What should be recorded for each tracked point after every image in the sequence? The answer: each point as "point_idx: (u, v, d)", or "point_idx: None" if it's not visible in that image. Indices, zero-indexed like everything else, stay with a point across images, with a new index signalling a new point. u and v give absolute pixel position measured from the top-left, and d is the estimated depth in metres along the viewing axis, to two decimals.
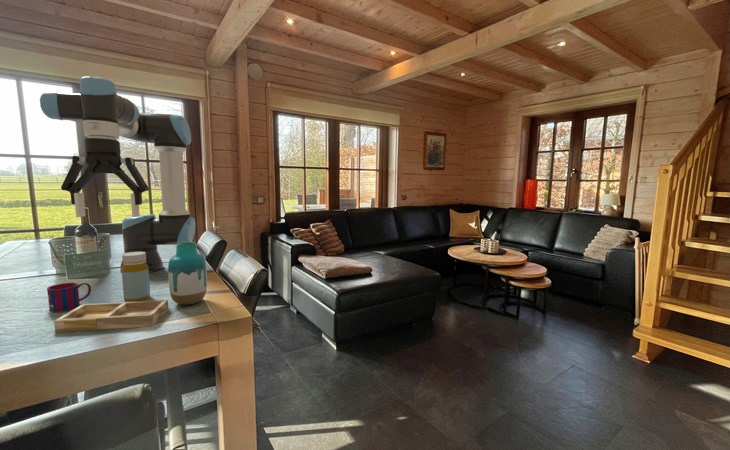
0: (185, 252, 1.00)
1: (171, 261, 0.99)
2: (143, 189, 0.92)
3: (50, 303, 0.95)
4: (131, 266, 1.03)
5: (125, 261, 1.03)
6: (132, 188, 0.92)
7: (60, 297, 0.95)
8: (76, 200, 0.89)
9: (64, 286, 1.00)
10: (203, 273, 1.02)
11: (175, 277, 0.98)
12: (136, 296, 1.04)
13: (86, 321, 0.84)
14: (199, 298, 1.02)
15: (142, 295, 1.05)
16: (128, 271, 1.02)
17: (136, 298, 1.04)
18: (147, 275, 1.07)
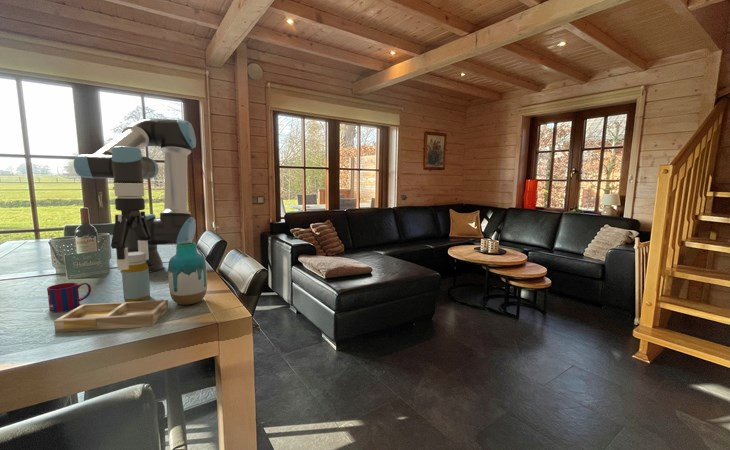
0: (185, 252, 1.00)
1: (171, 261, 0.99)
2: None
3: (50, 303, 0.95)
4: (131, 266, 1.03)
5: None
6: None
7: (60, 297, 0.95)
8: None
9: (64, 286, 1.00)
10: (203, 273, 1.02)
11: (175, 277, 0.98)
12: (136, 296, 1.04)
13: (86, 321, 0.84)
14: (199, 298, 1.02)
15: (142, 295, 1.05)
16: (128, 271, 1.02)
17: (136, 298, 1.04)
18: (147, 275, 1.07)
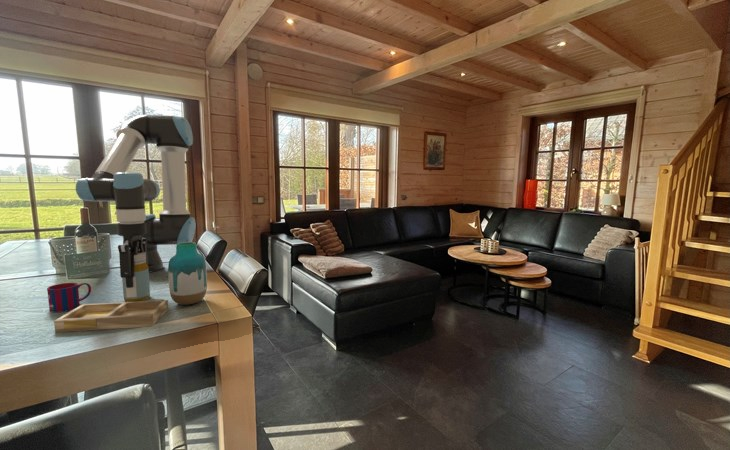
0: (185, 252, 1.00)
1: (171, 261, 0.99)
2: None
3: (50, 303, 0.95)
4: None
5: None
6: None
7: (60, 297, 0.95)
8: None
9: (64, 286, 1.00)
10: (203, 273, 1.02)
11: (175, 277, 0.98)
12: None
13: (86, 321, 0.84)
14: (199, 298, 1.02)
15: (142, 295, 1.05)
16: None
17: (136, 298, 1.04)
18: (147, 275, 1.07)
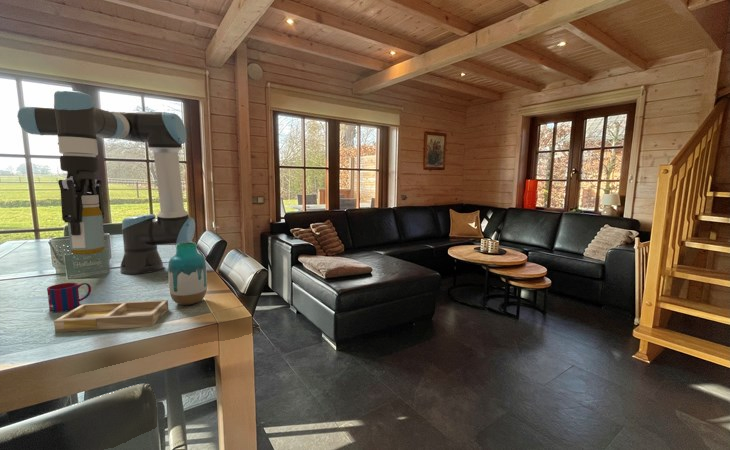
0: (185, 252, 1.00)
1: (171, 261, 0.99)
2: None
3: (50, 303, 0.95)
4: None
5: None
6: None
7: (60, 297, 0.95)
8: None
9: (64, 286, 1.00)
10: (203, 273, 1.02)
11: (175, 277, 0.98)
12: None
13: (86, 321, 0.84)
14: (199, 298, 1.02)
15: (93, 246, 0.85)
16: None
17: (85, 249, 0.84)
18: (100, 223, 0.87)
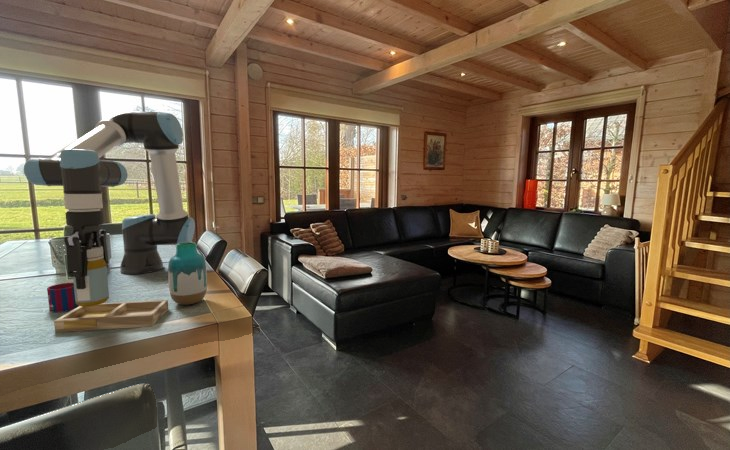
0: (185, 252, 1.00)
1: (171, 261, 0.99)
2: None
3: (50, 303, 0.95)
4: None
5: None
6: None
7: (60, 297, 0.95)
8: None
9: (64, 286, 1.00)
10: (203, 273, 1.02)
11: (175, 277, 0.98)
12: None
13: (86, 321, 0.84)
14: (199, 298, 1.02)
15: (97, 297, 0.87)
16: None
17: (90, 302, 0.86)
18: (104, 274, 0.89)
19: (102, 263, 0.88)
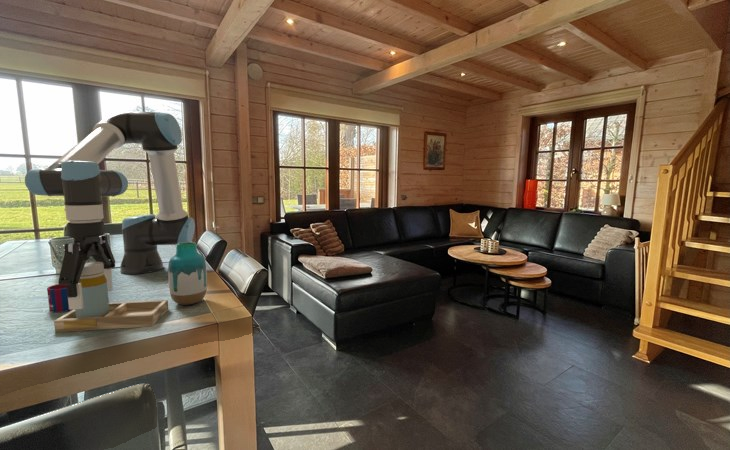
0: (185, 252, 1.00)
1: (171, 261, 0.99)
2: None
3: (50, 303, 0.95)
4: (84, 280, 0.85)
5: None
6: None
7: (60, 297, 0.95)
8: None
9: (64, 286, 1.00)
10: (203, 273, 1.02)
11: (175, 277, 0.98)
12: (90, 316, 0.86)
13: (86, 321, 0.84)
14: (199, 298, 1.02)
15: (98, 314, 0.87)
16: None
17: None
18: (105, 290, 0.89)
19: (102, 279, 0.88)
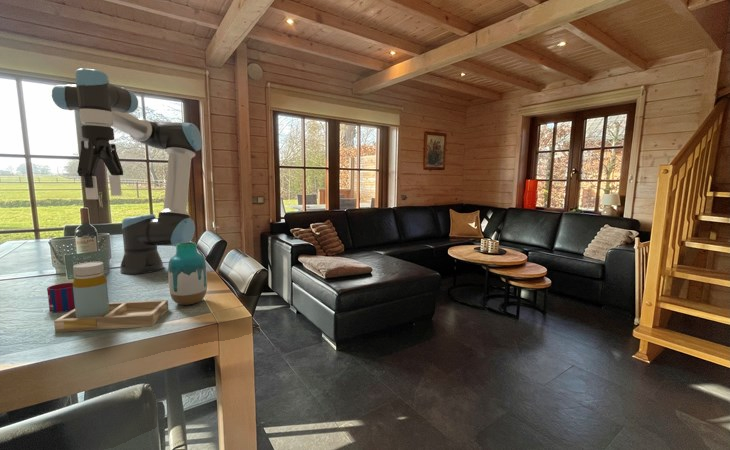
0: (185, 252, 1.00)
1: (171, 261, 0.99)
2: None
3: (50, 303, 0.95)
4: (83, 280, 0.85)
5: (76, 274, 0.85)
6: None
7: (60, 297, 0.95)
8: None
9: (64, 286, 1.00)
10: (203, 273, 1.02)
11: (175, 277, 0.98)
12: (90, 316, 0.86)
13: (86, 321, 0.84)
14: (199, 298, 1.02)
15: (97, 314, 0.87)
16: (80, 286, 0.85)
17: None
18: (105, 290, 0.89)
19: (102, 279, 0.88)
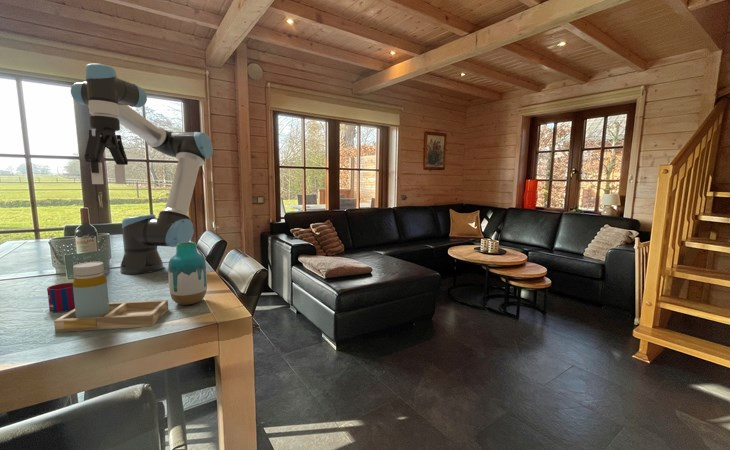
0: (185, 252, 1.00)
1: (171, 261, 0.99)
2: None
3: (50, 303, 0.95)
4: (83, 280, 0.85)
5: (76, 274, 0.85)
6: None
7: (60, 297, 0.95)
8: None
9: (64, 286, 1.00)
10: (203, 273, 1.02)
11: (175, 277, 0.98)
12: (90, 316, 0.86)
13: (86, 321, 0.84)
14: (199, 298, 1.02)
15: (97, 314, 0.87)
16: (80, 286, 0.85)
17: None
18: (105, 290, 0.89)
19: (102, 279, 0.88)
